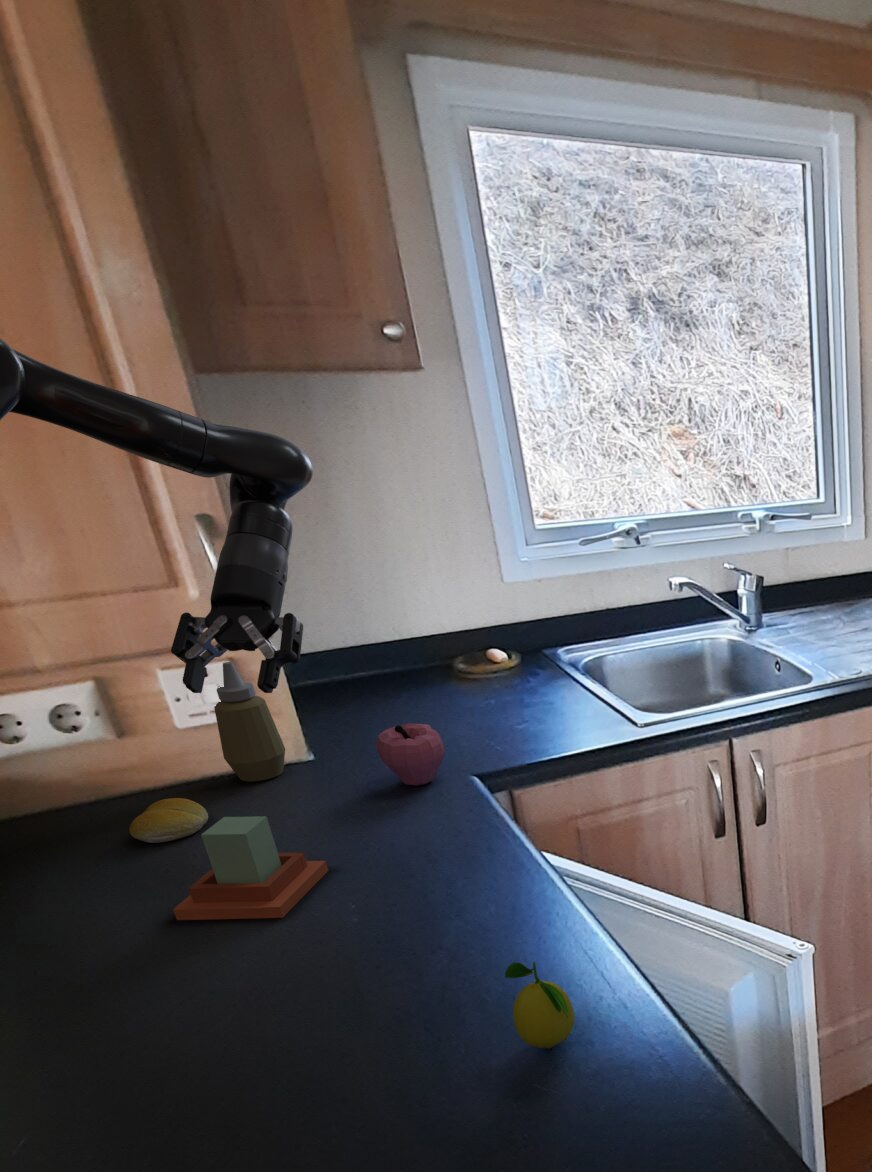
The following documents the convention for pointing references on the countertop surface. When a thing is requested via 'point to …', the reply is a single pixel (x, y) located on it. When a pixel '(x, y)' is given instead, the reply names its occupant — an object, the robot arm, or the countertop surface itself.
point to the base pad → (253, 892)
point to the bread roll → (169, 820)
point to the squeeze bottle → (247, 730)
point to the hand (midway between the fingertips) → (229, 690)
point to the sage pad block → (241, 850)
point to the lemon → (541, 1010)
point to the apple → (411, 752)
